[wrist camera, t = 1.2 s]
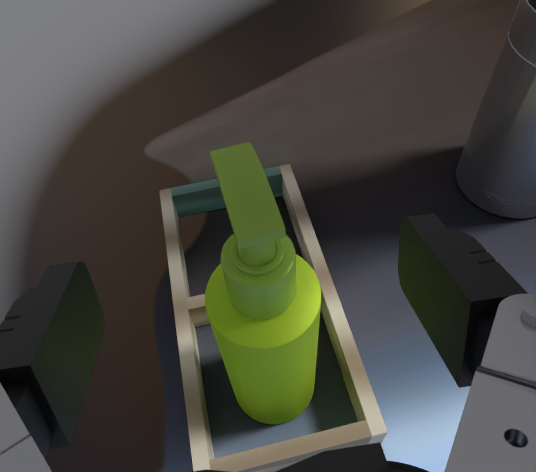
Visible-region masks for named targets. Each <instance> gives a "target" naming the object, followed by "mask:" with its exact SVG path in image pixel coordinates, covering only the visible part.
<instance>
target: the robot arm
mask: <svg viewBox="0 0 536 472" xmlns="http://www.w3.org/2000/svg"><path fill="white" fill-rule="evenodd" d="M456 180H457V183H458V186H459V188H460V189H461V191H462V192H463V194H464V195H465V196H466V197H467V198H468V199H469V200H470V201H471V202H472V203H474V204H475V205H477V206H478V207H480V208H481V209H484V210H486V211H488V212H490V213H492V214H495V215H499V216H502V217H508V218H519V219H525V218H532V217H536V0H520V2H519V4H518V7H517V10H516V12H515V15H514V18H513V20H512V23H511V25H510V28H509V31H508V34H507V37H506V39H505V42H504V44H503V47H502V50H501V52H500V55H499V58H498V60H497V63H496V65H495V68H494V71H493V73H492V76H491V79H490V81H489V84H488V86H487V89H486V92H485V94H484V97H483V100H482V102H481V105H480V107H479V110H478V113H477V115H476V118H475V121H474V123H473V126H472V128H471V131H470V134H469V136H468V138H467V141H466V144H465V146H464V149H463V152H462V154H461V157H460V160H459V162H458V165H457V169H456ZM398 274H399V280H400V284H401V288H402V290H403V292H404V294H405V296H406V297H407V299H408V301H409V303H410V304H411V306H412V308H413V309H414V311H415V313H416V315H417V316H418V318H419V320H420V321H421V323H422V325H423V327H424V328H425V330H426V332H427V333H428V335H429V337H430V339H431V340H432V342H433V344H434V345H435V347H436V349H437V351H438V352H439V354H440V356H441V357H442V359H443V361H444V363H445V364H446V366H447V368H448V369H449V371H450V373H451V375H452V376H453V378H454V380H455V381H456V383H457V385H458V387H466V386H471V387H470V391H469V394H468V397H467V400H466V404H465V407H464V410H463V413H462V417H461V420H460V423H459V427H458V430H457V433H456V436H455V440H454V443H453V446H452V449H451V453H450V456H449V459H448V462H447V466H446V469H445V472H536V294H528V293H527V292H526V291H525V290H524V289H523V288H522V287H521V286H520V285H519V284H518V283H517V282H516V281H515V279H514V278H513V277H512V276H511V275H510V274H509V273H508V272H507V271H506V270H505V269H504V268H503V267H502V266H501V265H500V264H499V263H498V262H496V261H495V259H494V258H493V257H492V256H491V255H490V254H489V253H488V252H486V249H485V248H484V247H483V246H482V245H481V244H480V243H479V242H478V241H477V240H476V239H475V238H474V237H472V236H470V235H468V234H466V233H464V232H462V231H460V230H458V229H452V230H449V229H448V228H447V227H446V226H445V225H444V224H443V223H442V222H441V221H440V219H439V218H438V217H437V216H436V215H435V214H434V213H427V214H420V215H413V216H406V217H403V218H402V219H401V222H400V234H399V258H398ZM103 334H104V316H103V312H102V308H101V305H100V303H99V300H98V297H97V294H96V291H95V289H94V286H93V283H92V280H91V277H90V275H89V272H88V269H87V267H86V265H85V264H84V263H83V262H81V261H80V262H73V263H66V264H58V265H52V266H49V267H48V269H47V271H46V272H45V274H44V276H43V278H42V279H41V281H40V283H39V285H38V287H37V288H30V289H29V290H28V291H27V292H26V293H24V294H23V295H22V296H21V297H20V298H19V299H18V300H16V301H15V302H14V303H13V305H12V307H11V309H10V310H9V312H8V313H7V315H6V317H5V321H3V322H2V324H1V325H0V472H52V471H51V469H50V468H49V466H48V464H47V463H46V461H45V458H46V455H47V452H48V449H50V448H57V447H64V446H70V443H71V440H72V436H73V433H74V430H75V427H76V423H77V420H78V417H79V414H80V410H81V407H82V404H83V400H84V397H85V394H86V390H87V387H88V384H89V380H90V377H91V374H92V371H93V367H94V364H95V361H96V357H97V354H98V351H99V348H100V344H101V341H102V338H103ZM194 472H229V471H218V470H207V469H206V470H200V471H194ZM276 472H429V471H426V470H424V469H421V468H418V467H415V466H412V465H408V464H404V463H399V462H393V461H386V458H385V455H384V452H383V449H382V447H381V444H380V442H379V443H373V444H367V445H360V446H354V447H347V448H341V449H334V450H328V451H323V452H321V453H318V454H316V455H314V456H311V457H309V458H307V459H304V460H302V461H299V462H297V463H295V464H292V465H290V466H287V467H285V468H283V469H280V470H278V471H276Z"/></svg>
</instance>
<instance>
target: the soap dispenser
mask: <svg viewBox="0 0 536 472" xmlns="http://www.w3.org/2000/svg"><path fill="white" fill-rule="evenodd" d="M210 155H211V159H212V163H213V167H214V170H215V173H216V176H217V179H218V182H219V186H220V189H221V192H222V196H223V199H224V202H225V206H226V209H227V212H228V216H229V219H230V222H231V226H232V229H233V232H234V234H232V235H231V236H230V237H229V238H228V239H227V241H226V242H225V244H224V245H223V248H222V251H221V264H220V265H219V266H218V267H217V268H216V269H215V271H214V272H213V274H212V275H211V277H210V279H209V281H208V284H207V287H206V292H205V307H206V312H207V315H208V318H209V321H210V324H211V327H212V330H213V332H214V335H215V338H216V341H217V344H218V347H219V350H220V353H221V356H222V359H223V362H224V365H225V368H226V371H227V374H228V377H229V379H230V382H231V385H232V388H233V391H234V394H235V397H236V400H237V402H238V404H239V406H240V407H241V408H242V410H243V411H244V412H245V413H246V414H247V415H248V416H250V417H251V418H253V419H254V420H256V421H259V422H262V423H265V424H282V423H286V422H289V421H291V420H293V419H295V418H296V417H298V416H299V415H300V414H301V413H302V412H303V411H304V410H305V409H306V408H307V406H308V405H309V403H310V401H311V399H312V396H313V393H314V385H315V373H316V360H317V347H318V334H319V322H320V309H321V287H320V283H319V280H318V278H317V275H316V274H315V272H314V270H313V269H312V267H311V266H310V265H309V264H308V263H307V262H306V261H305V260H304V259H303V258H301V257H300V256H298V255H297V254H296V252H295V248H294V245H293V243H292V241H291V239H290V238H289V237H288V236H287V235H286V231H285V225H284V223H283V220H282V217H281V214H280V212H279V209H278V206H277V203H276V201H275V198H274V195H273V193H272V190H271V187H270V185H269V182H268V180H267V177H266V174H265V172H264V170H263V167H262V165H261V163H260V160H259V158H258V156H257V154H256V152H255V150H254V148H253V146H252V144H251V143H250V142H247V143H243V144H238V145H234V146H230V147H226V148H221V149H217V150H213V151H210Z"/></svg>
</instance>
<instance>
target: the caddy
mask: <svg viewBox="0 0 536 472" xmlns="http://www.w3.org/2000/svg"><path fill="white" fill-rule="evenodd" d="M263 170H264V172H265V174H266V177H267V180H268V182H269V185H270V187H271V190H272V193H273V195H274V198H275V197H279V196H283V198H284V201H285V204H286V207H287V210H288V213H289V216H290V219H291V222H292V225H293V228H294V231H295V234H296V237H297V240H298V243H299V246H300V249H301V252H302V255H303V258H304V260H305V261H306V262H307V263H308V264H309V265H310V266H311V267H312V269H313V270H314V272H315V274H316V275H317V278H318V280H319V283H320V287H321V312H322V315H323V318H324V321H325V324H326V327H327V330H328V333H329V336H330V339H331V342H332V345H333V348H334V351H335V354H336V357H337V360H338V363H339V366H340V369H341V372H342V375H343V378H344V381H345V384H346V387H347V390H348V393H349V396H350V399H351V402H352V405H353V408H354V411H355V414H356V417H357V420H358V422H356V423H352V424H348V425H344V426H340V427H336V428H332V429H328V430H325V431H321V432H317V433H313V434H309V435H305V436H301V437H297V438H294V439H290V440H286V441H282V442H278V443H274V444H270V445H266V446H263V447H259V448H255V449H251V450H247V451H243V452H239V453H235V454H232V455H228V456H224V457H220V458H216V459H214V453H213V446H212V439H211V433H210V426H209V419H208V412H207V406H206V399H205V392H204V385H203V379H202V372H201V365H200V358H199V352H198V345H197V338H196V331H195V327H199V326H204V325H208V324H210V321H209V318H208V315H207V312H206V307H205V294H202V295H198V296H193V297H190V291H189V284H188V277H187V270H186V264H185V257H184V251H183V243H182V237H181V230H180V223H179V217H184V216H188V215H193V214H198V213H203V212H208V211H212V210H217V209H222V208H226V206H225V202H224V199H223V196H222V192H221V189H220V186H219V182H218V179H213V180H208V181H203V182H198V183H193V184H188V185H184V186H179V187H174V188H169V189H164V190H160V199H161V207H162V216H163V224H164V232H165V240H166V248H167V257H168V265H169V274H170V282H171V290H172V298H173V307H174V315H175V323H176V331H177V340H178V348H179V356H180V364H181V372H182V381H183V389H184V397H185V405H186V414H187V422H188V430H189V438H190V447H191V455H192V463H193V471H200V470H206V469H207V470H218V471H229V472H275V471H278V470H280V469H283V468H285V467H287V466H290V465H292V464H295V463H297V462H299V461H302V460H304V459H307V458H309V457H311V456H314V455H316V454H318V453H321V452H323V451H328V450H334V449H341V448H347V447H354V446H360V445H367V444H373V443H379V442H380V444H381V443H382V441H383V439H384V437H385V436H386V434H387V429H386V426H385V423H384V421H383V418H382V415H381V412H380V410H379V407H378V404H377V401H376V399H375V396H374V393H373V391H372V388H371V385H370V382H369V380H368V377H367V374H366V371H365V369H364V366H363V363H362V360H361V358H360V355H359V352H358V349H357V347H356V344H355V341H354V338H353V336H352V333H351V330H350V328H349V325H348V322H347V319H346V317H345V314H344V311H343V308H342V306H341V303H340V300H339V297H338V295H337V292H336V289H335V286H334V284H333V281H332V278H331V275H330V273H329V270H328V267H327V264H326V262H325V259H324V256H323V254H322V251H321V248H320V245H319V243H318V240H317V237H316V234H315V232H314V229H313V226H312V223H311V221H310V218H309V215H308V212H307V210H306V207H305V204H304V201H303V199H302V196H301V193H300V191H299V188H298V185H297V182H296V180H295V177H294V174H293V171H292V169H291V166H290V164H287V165H282V166H277V167H272V168H267V169H263Z"/></svg>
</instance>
